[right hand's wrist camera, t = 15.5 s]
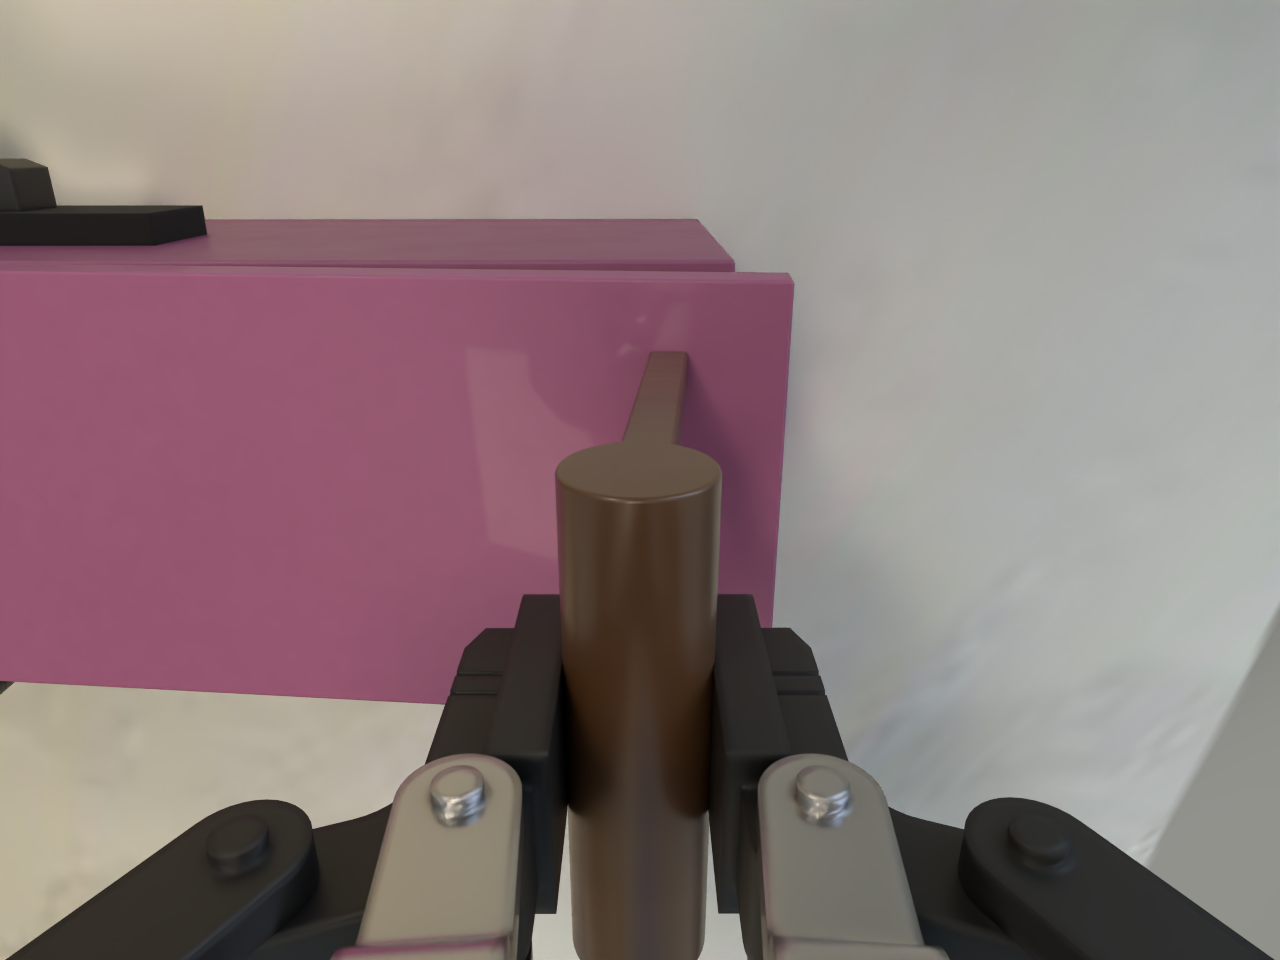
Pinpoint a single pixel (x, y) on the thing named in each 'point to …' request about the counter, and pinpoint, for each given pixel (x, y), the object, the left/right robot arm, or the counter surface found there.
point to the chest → (419, 245)
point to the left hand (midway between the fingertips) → (216, 419)
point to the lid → (408, 509)
